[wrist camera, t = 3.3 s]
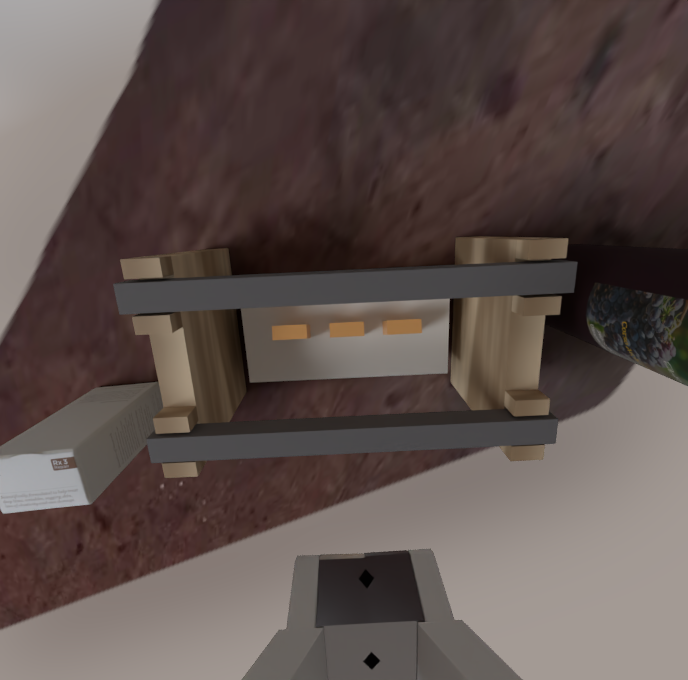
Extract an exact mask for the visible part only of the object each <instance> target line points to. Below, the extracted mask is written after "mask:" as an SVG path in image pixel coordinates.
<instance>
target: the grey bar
mask: <svg viewBox="0 0 688 680" xmlns="http://www.w3.org/2000/svg"><path fill="white" fill-rule="evenodd" d="M557 426H558V418H556V417H555V416H554V415H553V414H552V413H550V412H549V413H548V415H535V416H513V415H512V414H511V413H510V412H509V411H508V409H491V410H470V411H450V412H429V413H408V414H387V415H367V416H346V417H325V418H305V419H284V420H263V421H243V422H222V423H201V424H196V425H195V426H194V428H193V429H192V430H191V432H184V433H163V434H156V432H155V430H154V431H153V432H152V434H151V435H150V436H149V437H148V438H147V439H146V440H147V445H148V450H149V454H150V459H151V463H163V462H184V461H205V460H225V459H246V458H266V457H287V456H308V455H328V454H349V453H370V452H390V451H411V450H431V449H452V448H473V447H493V446H514V445H535V444H554V443H555V442H556V434H557Z"/></svg>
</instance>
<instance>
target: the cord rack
mask: <svg viewBox="0 0 688 680" xmlns="http://www.w3.org/2000/svg"><path fill="white" fill-rule="evenodd" d="M567 246H568V238H535V237H489V236H475V237H456V243H455V265H460V264H481V263H502V262H523V261H544V260H551V259H558V258H566V255H567ZM120 261H121V266H122V271H123V276H124V279H139V280H146V279H167V278H188V277H209V276H230V275H232V273H231V265H230V257H229V249H228V248H223V249H204V250H195V251H187V252H179V253H170V254H162V255H154V256H146V257H137V258H129V259H121V260H120ZM561 299H562V296H559V295H556V294H535V295H515V296H494V297H473V298H454V301H453V330H452V359H451V383H452V385H453V386H454V387H455V389H456V390H457V391H458V392H459V394H460V395H461V396H462V398H463V399H464V400H465V402H466V403H467V404H468V406H469V407H470V408H471V410H491V409H508V411H509V412H510V413H511V414H512V415H513V416H535V415H548V413H549V404H550V399H549V398H548V397H547V396H545V395H544V394H543V393H542V392H540V391H539V390H538V382H539V372H540V363H541V353H542V343H543V334H544V324H545V315H560V308H561ZM132 320H133V325H134V330H135V334H136V335H144V334H149V335H150V341H151V346H152V351H153V356H154V361H155V366H156V371H157V377H158V382H159V387H160V392H161V397H162V402H163V407H164V408H163V409H162V410H161V411H160V412H159V413H158V414H157V415H156V416H155V417H154V418H153V422H154V427H155V432H156V434H163V433H184V432H191V430H192V429H193V428H194V426H195V425H196V424H201V423H222V422H230V420H231V418H232V416H233V415H234V413H235V411H236V409H237V408H238V406H239V404H240V403H241V401H242V399H243V397H244V396H245V394H246V392H247V391H246V383H245V375H244V368H243V360H242V352H241V344H240V336H239V328H238V320H237V312H236V309H222V310H201V311H180V312H159V313H140V314H138V315H135V316H133V317H132ZM499 447H500V448H501V449H502V451H503V452H504V453H505V455H506V456H507V457H508V459H509V460H510V461H522V460H523V461H524V460H543V457H544V448H545V445H544V444H535V445H514V446H499ZM206 461H207V460H205V461H184V462H163V463H162V466H163V471H164V476H165V478H175V477H195V476H198V475H199V473H200V472H201V470H202V468H203V467H204V465H205V463H206Z"/></svg>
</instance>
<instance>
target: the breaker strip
mask: <svg viewBox="0 0 688 680" xmlns="http://www.w3.org/2000/svg"><path fill="white" fill-rule="evenodd" d="M449 307H450V299H431V300H410V301H389V302H368V303H347V304H327V305H306V306H285V307H264V308H243V309H241V314H242V322H243V331H244V339H245V347H246V355H247V363H248V371H249V379H250V383H253V382H274V381H295V380H316V379H336V378H357V377H378V376H399V375H419V374H440V373H447V370H448V338H449ZM406 319H421V322H422V333H415V334H394V335H383V325H382V322H383V321H387V320H406ZM343 322H364V335H365V336H352V337H331V338H330V326H329V323H343ZM302 324H307V325H310V333H311V338H308V339H290V340H272V326H281V325H302Z"/></svg>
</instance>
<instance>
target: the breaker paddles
mask: <svg viewBox="0 0 688 680" xmlns="http://www.w3.org/2000/svg"><path fill="white" fill-rule="evenodd" d="M382 325H383V335H394V334H415V333H422V322H421V319H406V320H387V321H383V322H382ZM329 326H330V338H331V337H352V336H365V335H364V322H343V323H329ZM308 338H311V333H310V325H307V324H302V325H281V326H272V340H290V339H308Z"/></svg>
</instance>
